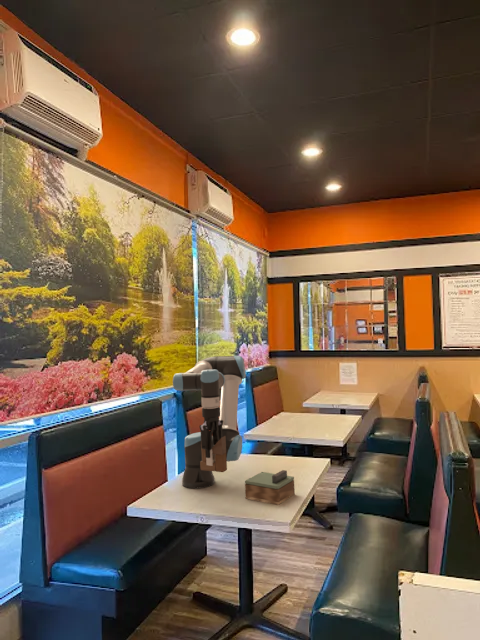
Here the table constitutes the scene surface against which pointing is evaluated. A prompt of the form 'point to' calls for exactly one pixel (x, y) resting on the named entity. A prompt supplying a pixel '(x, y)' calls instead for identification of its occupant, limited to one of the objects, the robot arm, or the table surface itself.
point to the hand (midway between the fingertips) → (213, 463)
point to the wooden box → (269, 493)
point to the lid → (270, 479)
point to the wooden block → (216, 457)
